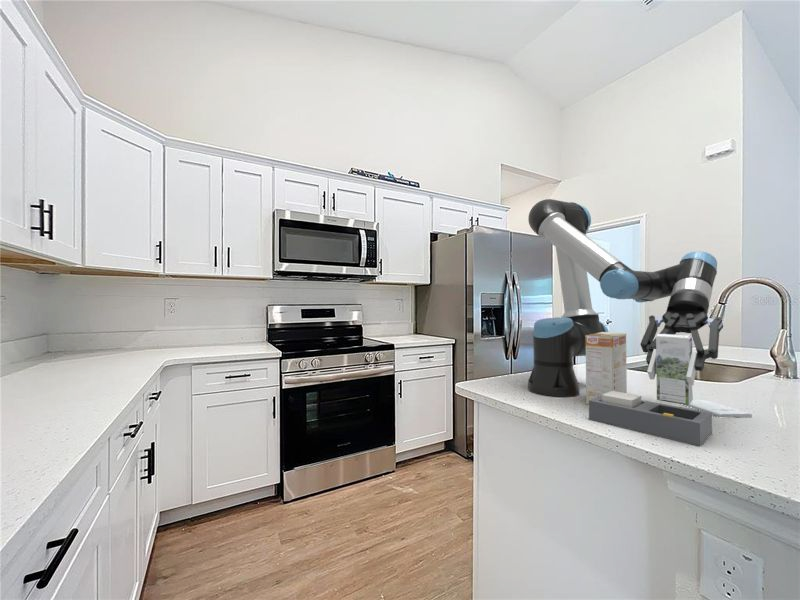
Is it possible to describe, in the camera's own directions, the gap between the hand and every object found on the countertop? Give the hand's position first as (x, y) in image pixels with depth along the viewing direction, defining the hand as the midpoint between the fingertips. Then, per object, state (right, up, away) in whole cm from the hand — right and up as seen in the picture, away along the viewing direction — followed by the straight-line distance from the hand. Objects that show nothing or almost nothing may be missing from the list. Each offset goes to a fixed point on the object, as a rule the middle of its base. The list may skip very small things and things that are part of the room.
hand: (669, 378), depth 75 cm
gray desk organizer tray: (0, -12, +6) cm, 14 cm away
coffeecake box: (+2, -13, +26) cm, 29 cm away
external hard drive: (+26, -13, +19) cm, 34 cm away
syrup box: (+3, -6, +2) cm, 7 cm away
